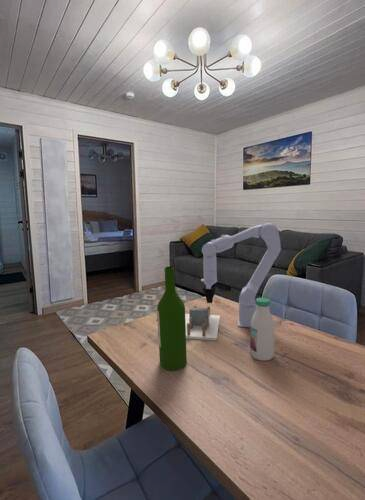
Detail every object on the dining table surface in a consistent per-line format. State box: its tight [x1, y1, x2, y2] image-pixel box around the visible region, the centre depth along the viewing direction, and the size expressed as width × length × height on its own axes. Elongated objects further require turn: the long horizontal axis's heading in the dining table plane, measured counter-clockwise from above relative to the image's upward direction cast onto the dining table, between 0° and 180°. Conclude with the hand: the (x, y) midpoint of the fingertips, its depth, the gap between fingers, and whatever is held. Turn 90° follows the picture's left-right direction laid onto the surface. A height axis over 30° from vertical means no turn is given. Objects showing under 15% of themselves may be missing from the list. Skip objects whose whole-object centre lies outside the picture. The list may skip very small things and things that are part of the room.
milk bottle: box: [249, 297, 275, 362], centre depth 91 cm, size 8×8×20 cm
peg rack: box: [185, 305, 221, 342], centre depth 114 cm, size 16×21×6 cm
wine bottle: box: [156, 266, 188, 372], centre depth 87 cm, size 9×9×32 cm
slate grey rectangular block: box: [188, 307, 209, 327], centre depth 114 cm, size 8×2×7 cm, turn 78°
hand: (210, 299), depth 120 cm, fingers open, 7 cm apart
